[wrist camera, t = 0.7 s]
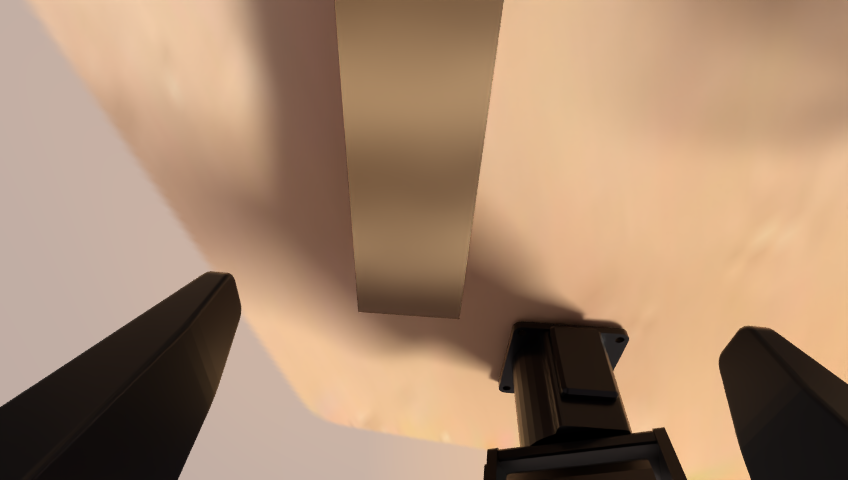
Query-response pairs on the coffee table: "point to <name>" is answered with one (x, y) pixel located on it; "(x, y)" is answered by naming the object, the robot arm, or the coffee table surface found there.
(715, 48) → the coffee table surface
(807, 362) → the robot arm
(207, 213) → the coffee table surface
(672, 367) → the coffee table surface
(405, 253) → the walnut lintel
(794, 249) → the coffee table surface
